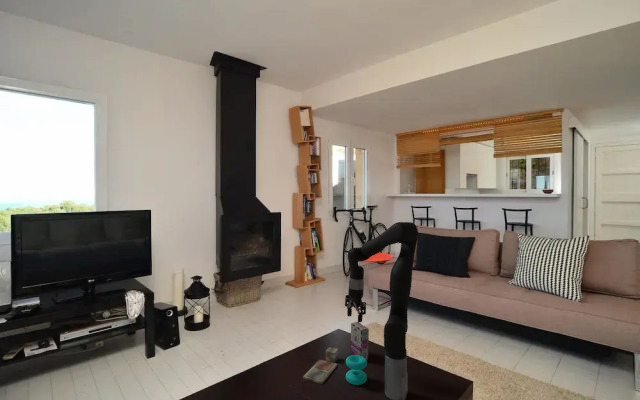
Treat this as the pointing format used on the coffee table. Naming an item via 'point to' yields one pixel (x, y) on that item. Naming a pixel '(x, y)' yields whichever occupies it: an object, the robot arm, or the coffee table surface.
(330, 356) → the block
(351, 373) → the donuts
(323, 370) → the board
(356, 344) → the candy bar box
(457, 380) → the coffee table surface
